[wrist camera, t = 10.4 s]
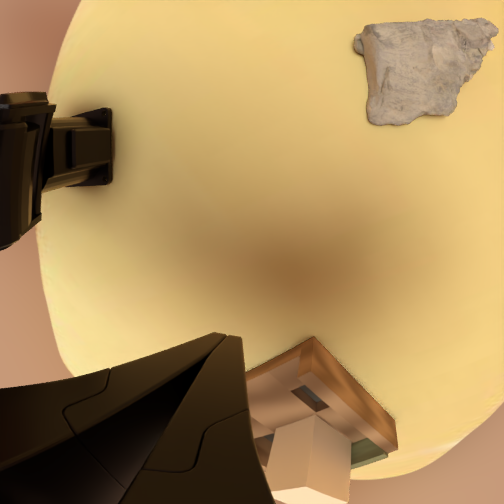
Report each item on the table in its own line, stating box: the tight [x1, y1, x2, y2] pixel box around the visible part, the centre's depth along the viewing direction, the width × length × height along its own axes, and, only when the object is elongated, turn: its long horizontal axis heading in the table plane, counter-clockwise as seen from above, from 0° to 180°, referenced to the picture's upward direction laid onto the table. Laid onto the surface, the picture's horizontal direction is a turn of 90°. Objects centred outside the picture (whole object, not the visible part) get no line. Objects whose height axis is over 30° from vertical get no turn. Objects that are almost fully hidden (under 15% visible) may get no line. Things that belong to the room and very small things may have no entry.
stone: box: [354, 18, 499, 125], centre depth 10 cm, size 6×12×4 cm, turn 112°
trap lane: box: [246, 337, 398, 472], centre depth 23 cm, size 16×15×4 cm
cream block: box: [265, 415, 351, 504], centre depth 20 cm, size 7×5×8 cm
